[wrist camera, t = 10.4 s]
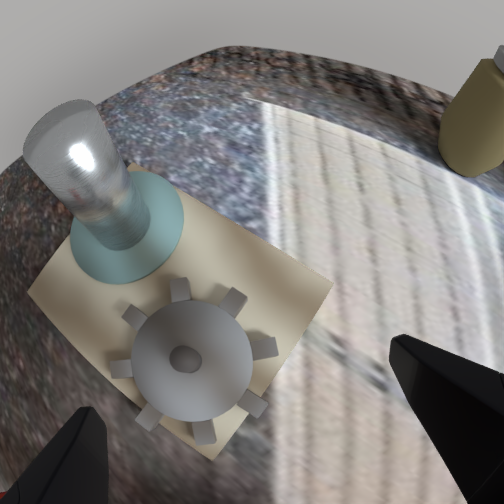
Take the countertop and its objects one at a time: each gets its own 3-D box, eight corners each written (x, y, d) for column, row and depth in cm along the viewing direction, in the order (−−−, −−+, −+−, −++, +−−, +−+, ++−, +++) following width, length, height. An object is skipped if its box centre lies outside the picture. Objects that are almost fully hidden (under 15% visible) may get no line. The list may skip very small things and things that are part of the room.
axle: (136, 258, 23) (64, 171, 13) (87, 242, 23) (9, 161, 13) (160, 203, 25) (113, 100, 14) (111, 192, 25) (54, 99, 15)
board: (216, 467, 18) (208, 486, 14) (24, 293, 23) (-5, 279, 19) (337, 291, 23) (353, 273, 19) (129, 164, 28) (114, 135, 24)
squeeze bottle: (494, 167, 28) (574, 60, 12) (471, 200, 26) (572, 75, 10) (446, 120, 31) (506, 3, 14) (415, 145, 29) (485, 2, 12)
